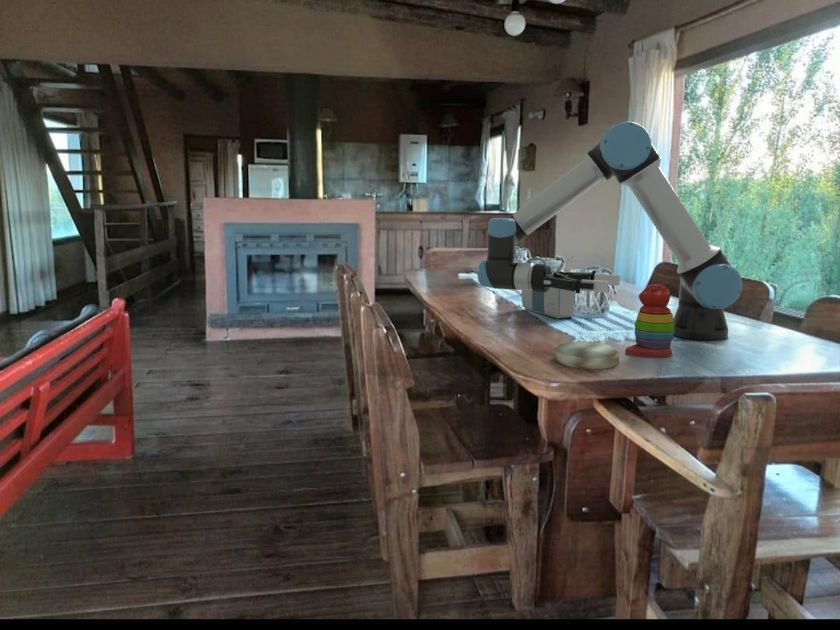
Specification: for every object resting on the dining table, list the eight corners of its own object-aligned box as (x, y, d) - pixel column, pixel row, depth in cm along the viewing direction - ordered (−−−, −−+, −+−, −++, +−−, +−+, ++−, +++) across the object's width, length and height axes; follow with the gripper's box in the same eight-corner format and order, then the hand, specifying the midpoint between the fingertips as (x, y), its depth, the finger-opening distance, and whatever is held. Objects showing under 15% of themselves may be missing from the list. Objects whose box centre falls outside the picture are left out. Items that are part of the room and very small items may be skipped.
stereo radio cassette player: (520, 309, 223) (521, 252, 219) (540, 307, 226) (541, 251, 222) (556, 320, 204) (558, 257, 200) (577, 318, 207) (579, 256, 203)
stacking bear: (643, 346, 169) (647, 279, 166) (680, 353, 162) (685, 283, 159) (622, 353, 162) (625, 283, 159) (659, 361, 155) (664, 288, 152)
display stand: (619, 355, 160) (620, 343, 160) (617, 371, 146) (618, 358, 146) (558, 351, 165) (559, 339, 164) (551, 366, 151) (551, 353, 151)
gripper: (547, 285, 185) (622, 291, 175) (517, 297, 164) (601, 305, 154) (548, 259, 184) (624, 264, 174) (518, 268, 162) (603, 274, 152)
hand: (614, 283), depth 164 cm, fingers open, 13 cm apart
